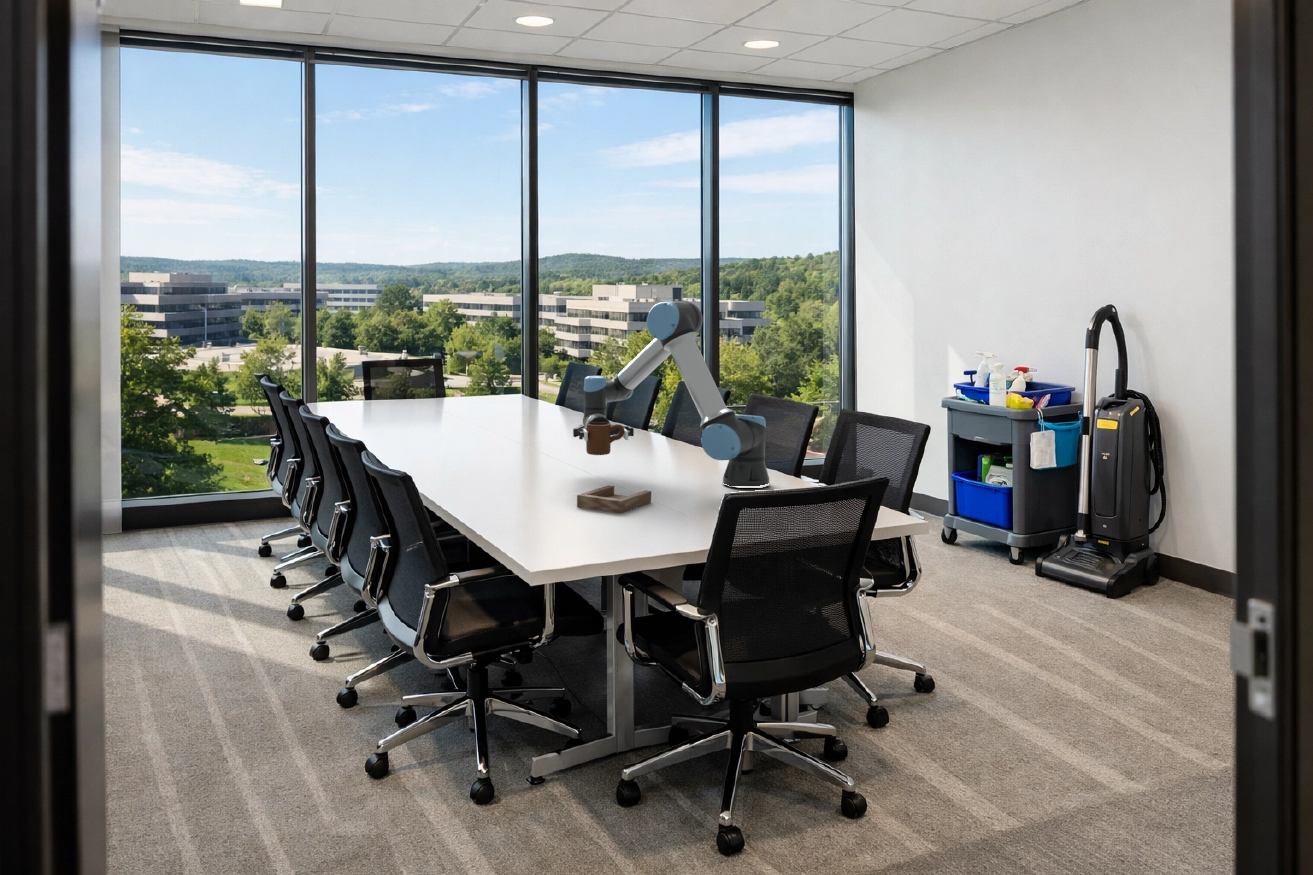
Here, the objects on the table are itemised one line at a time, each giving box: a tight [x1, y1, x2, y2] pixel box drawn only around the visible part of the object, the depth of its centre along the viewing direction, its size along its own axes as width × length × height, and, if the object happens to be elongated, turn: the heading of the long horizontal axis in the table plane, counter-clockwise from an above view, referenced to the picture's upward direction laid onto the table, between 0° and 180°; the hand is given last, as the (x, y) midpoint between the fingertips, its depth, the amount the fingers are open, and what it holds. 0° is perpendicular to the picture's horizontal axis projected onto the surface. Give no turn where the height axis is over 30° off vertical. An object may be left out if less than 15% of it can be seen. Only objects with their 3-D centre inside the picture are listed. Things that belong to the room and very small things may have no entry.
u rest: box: [576, 485, 652, 514], centre depth 295 cm, size 15×17×4 cm
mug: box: [585, 422, 624, 456], centre depth 314 cm, size 12×8×9 cm, turn 101°
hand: (606, 436), depth 310 cm, fingers closed on mug, 12 cm apart
